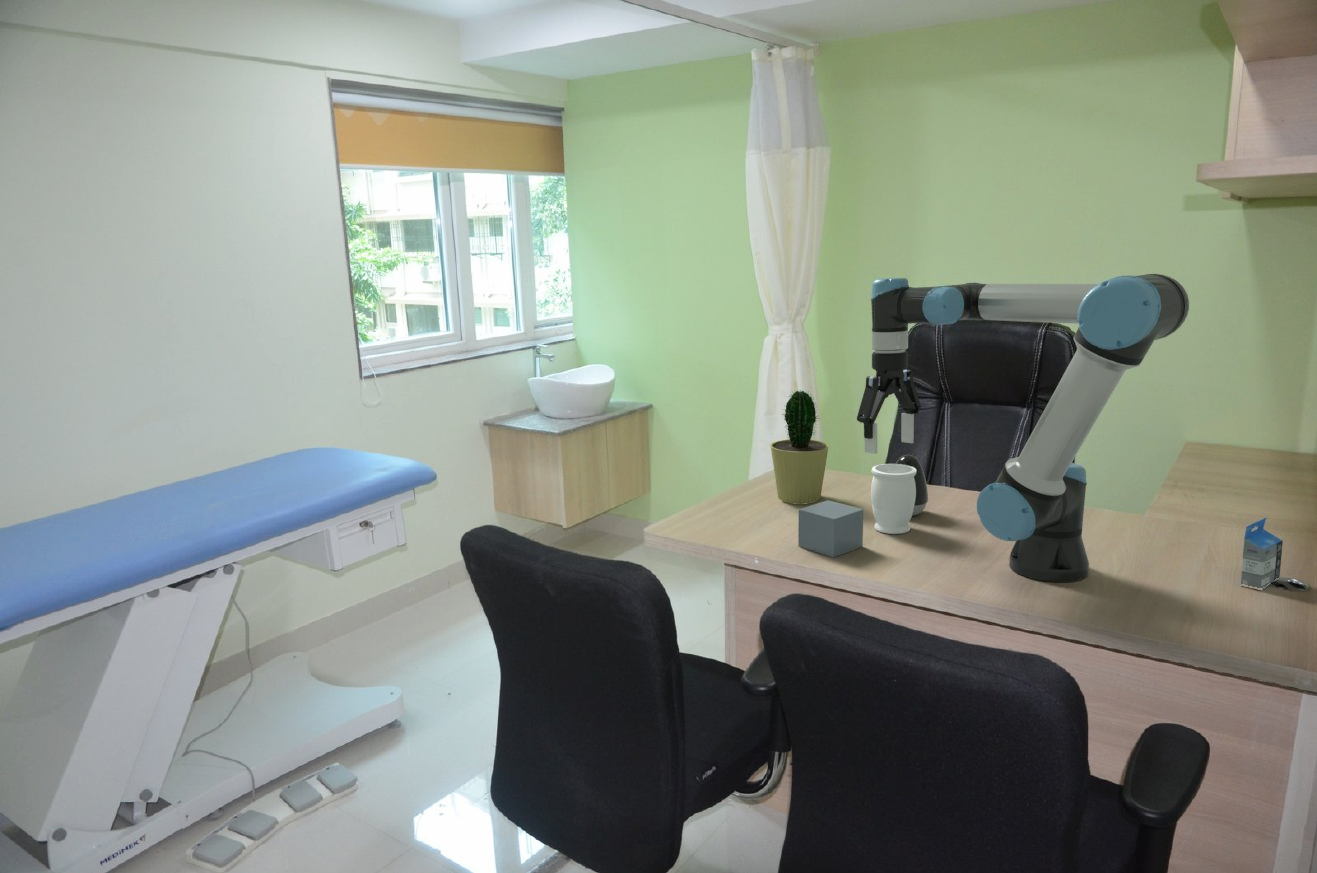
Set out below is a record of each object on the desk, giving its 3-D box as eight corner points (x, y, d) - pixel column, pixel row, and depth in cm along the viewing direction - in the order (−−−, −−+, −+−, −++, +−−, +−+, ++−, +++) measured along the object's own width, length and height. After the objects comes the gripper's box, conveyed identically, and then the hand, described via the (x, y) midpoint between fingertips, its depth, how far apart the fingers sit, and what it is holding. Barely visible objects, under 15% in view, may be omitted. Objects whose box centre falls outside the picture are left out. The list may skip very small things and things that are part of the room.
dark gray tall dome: (932, 510, 226) (935, 452, 222) (920, 521, 217) (922, 461, 214) (893, 505, 231) (895, 448, 228) (880, 516, 222) (881, 457, 219)
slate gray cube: (862, 546, 201) (863, 509, 199) (833, 557, 195) (834, 519, 193) (827, 536, 209) (827, 500, 207) (798, 546, 202) (798, 509, 200)
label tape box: (1261, 592, 170) (1268, 531, 167) (1237, 586, 173) (1244, 526, 170) (1279, 581, 175) (1287, 521, 172) (1256, 575, 178) (1263, 516, 175)
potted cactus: (762, 493, 245) (761, 386, 239) (813, 488, 249) (814, 382, 242) (782, 509, 231) (782, 395, 224) (837, 503, 234) (839, 391, 228)
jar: (916, 537, 206) (918, 474, 203) (870, 535, 208) (872, 473, 205) (912, 523, 216) (914, 463, 213) (869, 521, 218) (870, 462, 215)
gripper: (908, 344, 201) (907, 436, 205) (839, 356, 185) (840, 455, 189) (937, 345, 195) (936, 440, 199) (869, 357, 179) (869, 459, 183)
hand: (889, 447), depth 194 cm, fingers open, 13 cm apart
